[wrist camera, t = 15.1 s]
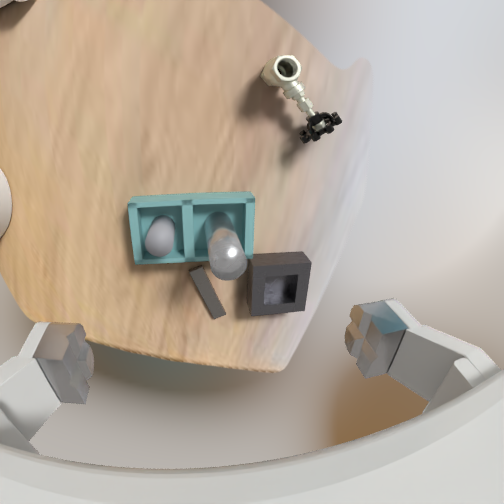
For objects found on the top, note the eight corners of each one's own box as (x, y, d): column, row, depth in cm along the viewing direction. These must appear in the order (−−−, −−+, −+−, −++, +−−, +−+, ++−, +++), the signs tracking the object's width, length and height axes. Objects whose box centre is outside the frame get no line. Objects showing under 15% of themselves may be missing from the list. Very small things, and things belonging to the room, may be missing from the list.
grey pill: (204, 238, 43) (211, 281, 33) (203, 212, 42) (209, 249, 31) (231, 236, 44) (247, 278, 34) (231, 210, 42) (247, 246, 32)
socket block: (246, 302, 51) (251, 316, 47) (248, 254, 47) (253, 266, 43) (297, 297, 52) (304, 310, 49) (302, 251, 49) (311, 262, 45)
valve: (245, 76, 36) (296, 141, 41) (255, 68, 30) (313, 146, 35) (282, 52, 35) (329, 117, 40) (297, 42, 29) (351, 118, 34)
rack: (138, 254, 43) (131, 276, 37) (132, 196, 40) (121, 211, 33) (248, 248, 47) (257, 269, 40) (250, 191, 43) (260, 205, 36)
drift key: (225, 310, 51) (226, 314, 50) (213, 314, 51) (214, 319, 50) (201, 263, 47) (202, 267, 46) (189, 268, 47) (189, 272, 46)
